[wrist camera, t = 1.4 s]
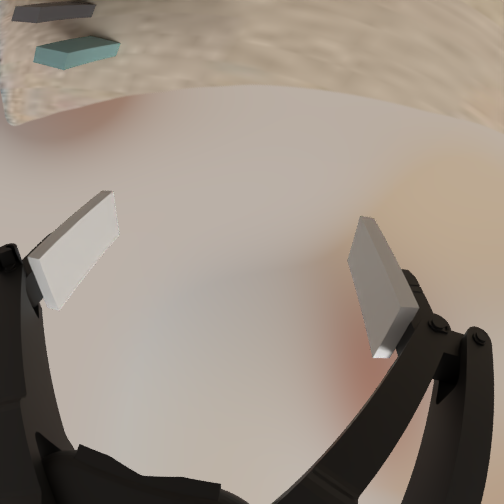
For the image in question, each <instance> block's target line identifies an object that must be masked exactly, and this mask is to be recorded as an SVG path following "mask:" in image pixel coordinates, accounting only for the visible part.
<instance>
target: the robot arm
mask: <svg viewBox="0 0 504 504" xmlns="http://www.w3.org/2000/svg"><path fill="white" fill-rule="evenodd" d="M119 235H120V234H119V227H118V221H117V215H116V207H115V200H114V191H101V192H100V193H99V194H97V195H96V196H95V197H94V198H92V199H91V200H90V201H89V202H87V203H86V204H85V205H84V206H83V207H81V208H80V209H79V210H78V211H77V212H75V213H74V214H73V215H72V216H71V217H69V218H68V219H67V220H66V221H65V222H64V223H63V224H62V225H60V226H59V227H58V228H57V229H56V230H55V231H54V232H52V233H51V234H49V235H48V236H46V238H44V239H43V240H42V242H40V243H39V244H38V245H37V247H35V248H34V249H33V250H32V251H31V252H30V253H29V254H28V255H27V256H26V257H25V258H24V259H23V260H21V257H20V254H19V251H18V248H17V245H16V244H12V243H11V244H6V245H4V246H2V247H0V504H249V503H247V502H246V501H245V500H243V499H241V498H240V497H238V496H236V495H234V494H232V493H230V492H228V491H225V490H223V489H221V484H218V483H211V482H206V481H200V480H195V479H189V478H184V477H153V476H142V475H140V474H137V473H136V472H134V471H132V470H131V469H129V468H127V467H126V466H124V465H123V464H121V463H120V462H118V461H116V460H115V459H113V458H112V457H110V456H108V455H106V454H103V453H100V452H98V451H95V450H92V449H90V448H88V447H85V446H83V445H81V444H79V447H78V450H74V448H73V446H72V445H71V443H70V441H69V440H68V439H67V436H66V434H65V432H64V428H63V425H62V421H61V418H60V414H59V411H58V407H57V402H56V398H55V394H54V389H53V385H52V380H51V375H50V369H49V363H48V357H47V351H46V345H45V336H44V328H43V317H42V308H41V306H40V303H39V302H40V301H41V300H42V298H44V301H45V303H46V305H47V307H48V308H51V309H54V310H58V311H60V309H61V308H62V307H63V305H64V304H65V303H66V301H67V300H68V298H69V297H70V296H71V294H72V293H73V292H74V290H75V289H76V288H77V286H78V285H79V284H80V282H81V281H82V280H83V279H84V277H85V276H86V275H87V273H88V272H89V271H90V270H91V268H92V267H93V266H94V265H95V263H96V262H97V261H98V260H99V258H100V257H101V256H102V255H103V254H104V252H105V251H106V250H107V249H108V248H109V246H110V245H111V244H112V243H113V242H114V240H115V239H116V238H117V237H118V236H119ZM348 264H349V267H350V271H351V274H352V278H353V281H354V285H355V288H356V291H357V296H358V299H359V303H360V307H361V311H362V315H363V319H364V323H365V327H366V331H367V335H368V339H369V344H370V348H371V352H372V357H373V358H390V357H391V355H392V353H393V351H394V350H395V349H396V351H397V354H398V357H397V359H396V360H395V362H394V364H393V365H392V366H391V368H390V369H389V371H388V372H387V374H386V375H385V377H384V378H383V380H382V381H381V383H380V384H379V386H378V387H377V388H376V390H375V391H374V393H373V394H372V395H371V397H370V398H369V399H368V401H367V402H366V404H365V405H364V406H363V407H362V409H361V410H360V411H359V413H358V414H357V415H356V416H355V418H354V419H353V420H352V421H351V423H350V424H349V425H348V426H347V428H346V429H345V430H344V431H343V432H342V433H341V435H340V436H339V437H338V438H337V440H336V441H335V442H334V443H333V444H332V445H331V446H330V447H329V448H328V449H327V451H326V452H325V453H324V454H323V455H322V456H321V457H320V458H319V459H318V460H317V461H316V462H315V463H314V465H313V466H312V467H311V468H310V469H309V470H308V471H307V472H306V473H305V474H304V475H303V476H302V477H301V478H300V479H299V480H298V481H296V482H295V484H293V485H292V486H291V487H290V488H289V489H288V490H287V491H286V492H284V493H283V494H282V495H281V496H280V497H279V498H278V499H276V500H275V501H274V502H273V503H272V504H358V498H359V496H360V495H361V493H362V492H363V491H364V489H365V488H366V487H367V485H368V484H369V483H370V482H371V480H372V479H373V478H374V476H375V475H376V474H377V472H378V471H379V469H380V468H381V466H382V465H383V463H384V462H385V461H386V459H387V458H388V456H389V455H390V453H391V452H392V450H393V449H394V447H395V445H396V444H397V442H398V441H399V439H400V437H401V436H402V434H403V433H404V431H405V429H406V428H407V426H408V424H409V422H410V421H411V419H412V417H413V415H414V413H415V412H416V410H417V408H418V406H419V404H420V402H421V400H422V398H423V396H424V394H425V392H426V390H427V388H428V386H429V384H430V382H431V380H432V379H434V385H433V391H432V397H431V402H430V407H429V412H428V417H427V421H426V426H425V430H424V434H423V438H422V442H421V446H420V449H419V453H418V456H417V460H416V463H415V466H414V469H413V472H412V475H411V478H410V481H409V484H408V487H407V490H406V492H405V495H404V498H403V500H402V503H401V504H481V501H482V496H483V492H484V488H485V483H486V478H487V471H488V466H489V459H490V451H491V442H492V431H493V415H494V372H493V371H494V370H493V354H492V343H491V340H490V338H489V336H488V334H487V333H486V332H485V331H484V330H482V329H480V328H478V327H475V326H474V327H470V328H469V329H468V330H467V331H466V333H465V334H461V333H457V332H454V331H451V328H450V326H449V324H448V322H447V321H446V320H445V319H444V318H442V317H441V316H439V315H437V314H433V312H432V309H431V307H430V305H429V304H428V301H427V299H426V297H425V295H424V294H423V291H422V289H421V287H419V286H420V285H419V284H418V281H417V279H416V278H415V276H414V275H412V273H410V271H409V270H404V269H401V268H400V266H399V264H398V262H397V260H396V258H395V256H394V254H393V252H392V250H391V249H390V247H389V245H388V243H387V241H386V239H385V237H384V236H383V234H382V232H381V230H380V229H379V227H378V225H377V224H376V221H375V220H374V218H370V217H363V216H360V218H359V222H358V226H357V229H356V233H355V237H354V240H353V244H352V247H351V250H350V254H349V257H348Z"/></svg>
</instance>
